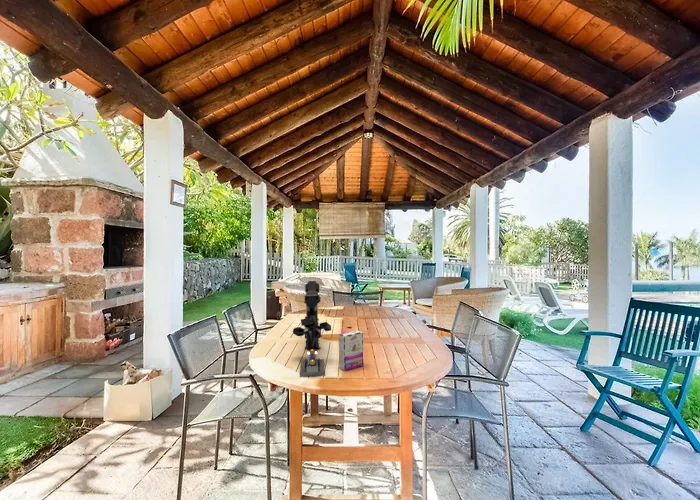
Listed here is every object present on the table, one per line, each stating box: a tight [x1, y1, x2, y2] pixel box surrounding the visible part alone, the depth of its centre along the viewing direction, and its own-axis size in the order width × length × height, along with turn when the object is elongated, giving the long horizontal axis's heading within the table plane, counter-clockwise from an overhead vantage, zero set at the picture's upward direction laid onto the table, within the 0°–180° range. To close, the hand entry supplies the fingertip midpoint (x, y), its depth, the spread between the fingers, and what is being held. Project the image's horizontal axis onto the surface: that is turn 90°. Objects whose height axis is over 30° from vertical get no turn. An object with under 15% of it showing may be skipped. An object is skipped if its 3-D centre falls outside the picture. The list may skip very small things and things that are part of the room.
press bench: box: [299, 357, 326, 378], centre depth 158 cm, size 16×11×7 cm, turn 6°
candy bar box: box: [338, 330, 364, 372], centre depth 161 cm, size 11×5×16 cm, turn 126°
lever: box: [307, 349, 318, 364], centre depth 155 cm, size 3×4×9 cm
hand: (312, 346), depth 166 cm, fingers closed
